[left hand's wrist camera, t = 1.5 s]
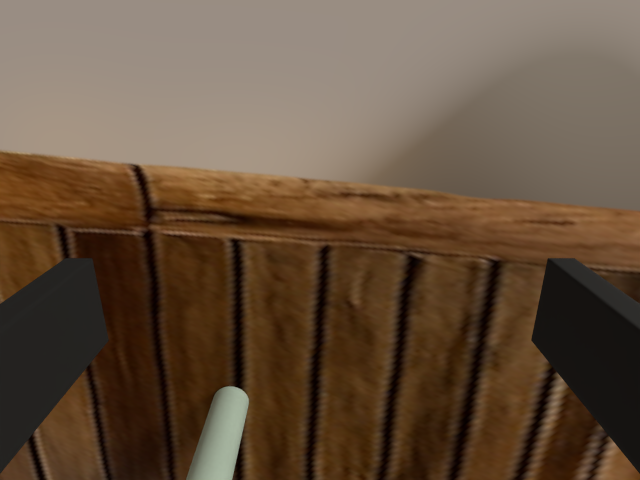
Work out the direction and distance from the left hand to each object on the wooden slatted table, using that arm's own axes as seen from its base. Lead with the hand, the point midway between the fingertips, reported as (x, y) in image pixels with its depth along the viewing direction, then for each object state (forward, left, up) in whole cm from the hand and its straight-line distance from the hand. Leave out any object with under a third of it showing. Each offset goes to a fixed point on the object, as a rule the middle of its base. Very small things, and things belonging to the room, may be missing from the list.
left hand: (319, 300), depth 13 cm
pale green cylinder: (-28, +10, -28) cm, 41 cm away
